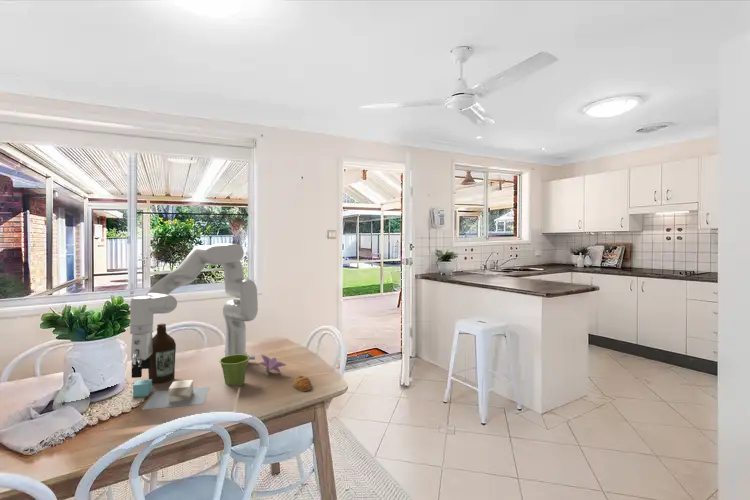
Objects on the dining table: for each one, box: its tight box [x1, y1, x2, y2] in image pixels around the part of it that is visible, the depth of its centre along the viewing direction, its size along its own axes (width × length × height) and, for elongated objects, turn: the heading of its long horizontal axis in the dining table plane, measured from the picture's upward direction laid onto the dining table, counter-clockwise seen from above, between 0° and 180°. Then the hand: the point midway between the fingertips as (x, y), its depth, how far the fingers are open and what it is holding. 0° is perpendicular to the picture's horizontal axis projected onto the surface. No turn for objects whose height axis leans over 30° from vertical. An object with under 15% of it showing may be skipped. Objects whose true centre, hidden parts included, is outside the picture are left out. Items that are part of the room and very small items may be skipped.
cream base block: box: [168, 379, 194, 402], centre depth 140 cm, size 7×7×5 cm
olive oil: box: [147, 323, 177, 385], centre depth 157 cm, size 11×11×25 cm
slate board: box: [141, 386, 211, 411], centre depth 140 cm, size 20×16×2 cm
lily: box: [257, 354, 287, 379], centre depth 167 cm, size 12×12×10 cm
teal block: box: [132, 378, 153, 398], centre depth 143 cm, size 5×5×6 cm
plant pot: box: [219, 354, 250, 387], centre depth 156 cm, size 12×12×11 cm
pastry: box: [292, 375, 312, 392], centre depth 154 cm, size 9×7×4 cm
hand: (141, 372), depth 142 cm, fingers open, 9 cm apart
